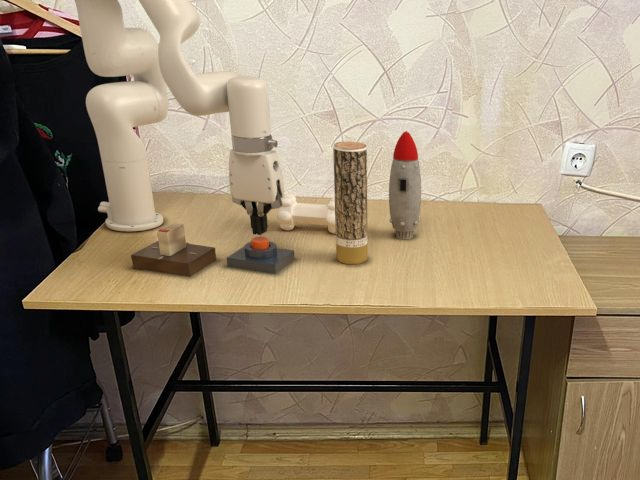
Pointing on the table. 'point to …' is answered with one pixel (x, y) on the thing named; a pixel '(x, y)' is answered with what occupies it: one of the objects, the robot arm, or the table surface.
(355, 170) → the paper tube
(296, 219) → the dog bone
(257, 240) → the button
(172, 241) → the beige block
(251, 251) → the button box
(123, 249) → the table surface
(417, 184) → the toy rocket
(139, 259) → the panel
